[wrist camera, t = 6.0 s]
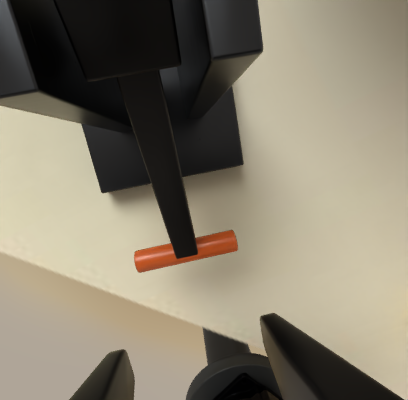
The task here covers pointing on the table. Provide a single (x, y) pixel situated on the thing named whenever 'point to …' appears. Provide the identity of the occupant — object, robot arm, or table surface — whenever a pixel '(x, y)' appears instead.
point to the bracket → (111, 95)
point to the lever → (143, 107)
